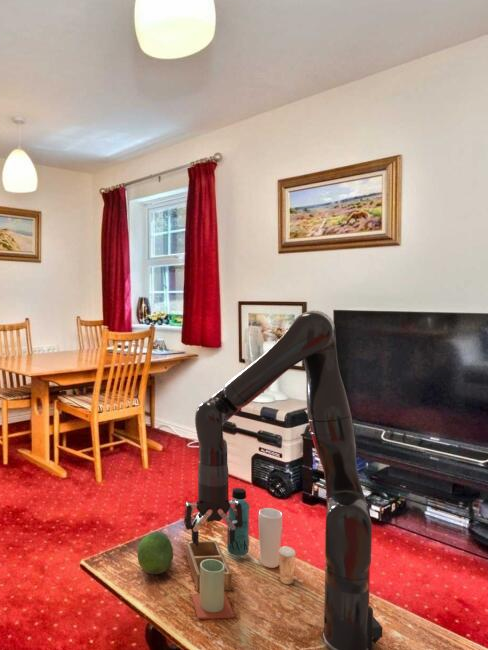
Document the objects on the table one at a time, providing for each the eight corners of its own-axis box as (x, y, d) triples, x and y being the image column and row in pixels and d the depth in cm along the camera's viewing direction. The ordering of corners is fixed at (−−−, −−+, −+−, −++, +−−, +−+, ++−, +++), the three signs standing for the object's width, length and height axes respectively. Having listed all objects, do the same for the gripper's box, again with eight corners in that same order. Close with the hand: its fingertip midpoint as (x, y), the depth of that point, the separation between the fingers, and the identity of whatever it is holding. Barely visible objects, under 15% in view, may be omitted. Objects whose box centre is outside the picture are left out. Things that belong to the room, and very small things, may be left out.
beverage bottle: (222, 552, 148) (223, 487, 147) (240, 548, 151) (241, 483, 150) (235, 563, 142) (236, 495, 142) (253, 558, 145) (254, 491, 144)
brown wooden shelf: (216, 555, 147) (216, 540, 147) (231, 590, 129) (231, 573, 129) (186, 556, 146) (186, 541, 146) (197, 591, 129) (197, 575, 128)
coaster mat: (225, 594, 127) (225, 592, 127) (234, 617, 118) (234, 615, 118) (191, 596, 127) (191, 594, 127) (197, 619, 118) (197, 617, 118)
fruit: (147, 551, 148) (147, 519, 148) (179, 556, 146) (179, 523, 145) (131, 579, 134) (132, 543, 134) (167, 585, 131) (167, 548, 131)
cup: (220, 596, 126) (221, 558, 125) (226, 611, 120) (227, 571, 119) (197, 597, 125) (198, 559, 125) (202, 613, 119) (202, 572, 119)
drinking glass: (282, 571, 138) (283, 519, 138) (258, 568, 140) (258, 516, 139) (280, 558, 145) (281, 508, 144) (257, 556, 146) (258, 506, 146)
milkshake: (291, 589, 130) (292, 552, 130) (274, 580, 134) (275, 544, 134) (301, 583, 133) (302, 546, 132) (284, 574, 137) (285, 539, 137)
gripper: (187, 486, 117) (187, 553, 118) (245, 484, 118) (245, 550, 119) (182, 474, 125) (182, 537, 125) (237, 472, 126) (237, 535, 126)
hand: (213, 543), depth 122 cm, fingers open, 8 cm apart
